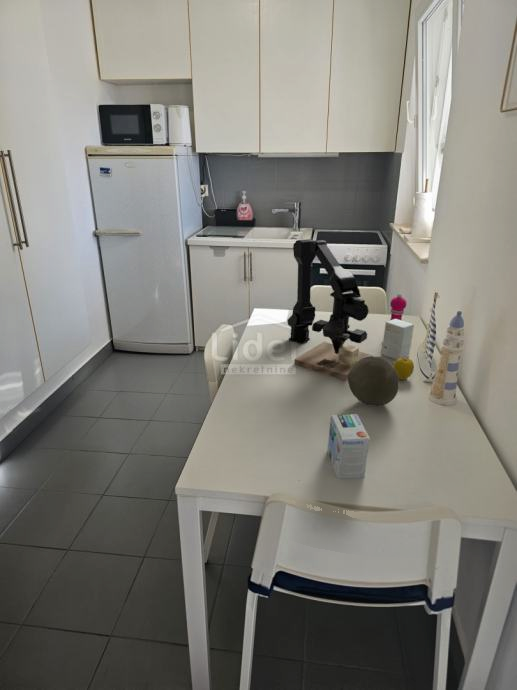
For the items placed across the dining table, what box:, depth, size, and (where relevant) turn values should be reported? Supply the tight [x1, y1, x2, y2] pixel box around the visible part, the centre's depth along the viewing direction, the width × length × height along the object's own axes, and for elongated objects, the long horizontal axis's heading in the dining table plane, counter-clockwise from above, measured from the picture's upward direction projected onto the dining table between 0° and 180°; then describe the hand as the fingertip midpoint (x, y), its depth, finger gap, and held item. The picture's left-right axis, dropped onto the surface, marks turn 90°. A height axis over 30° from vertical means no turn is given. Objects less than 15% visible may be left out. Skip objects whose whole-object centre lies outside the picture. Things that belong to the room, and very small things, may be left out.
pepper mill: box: [389, 293, 407, 321], centre depth 177 cm, size 7×7×20 cm
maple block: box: [338, 343, 360, 365], centre depth 157 cm, size 5×5×5 cm
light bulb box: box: [326, 413, 371, 479], centre depth 106 cm, size 11×7×11 cm, turn 5°
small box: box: [381, 319, 415, 361], centre depth 166 cm, size 8×6×13 cm
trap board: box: [294, 341, 374, 381], centre depth 161 cm, size 20×21×2 cm
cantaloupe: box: [347, 356, 400, 407], centre depth 131 cm, size 14×14×15 cm
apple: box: [392, 357, 415, 380], centre depth 149 cm, size 6×6×8 cm
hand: (336, 353), depth 160 cm, fingers closed
